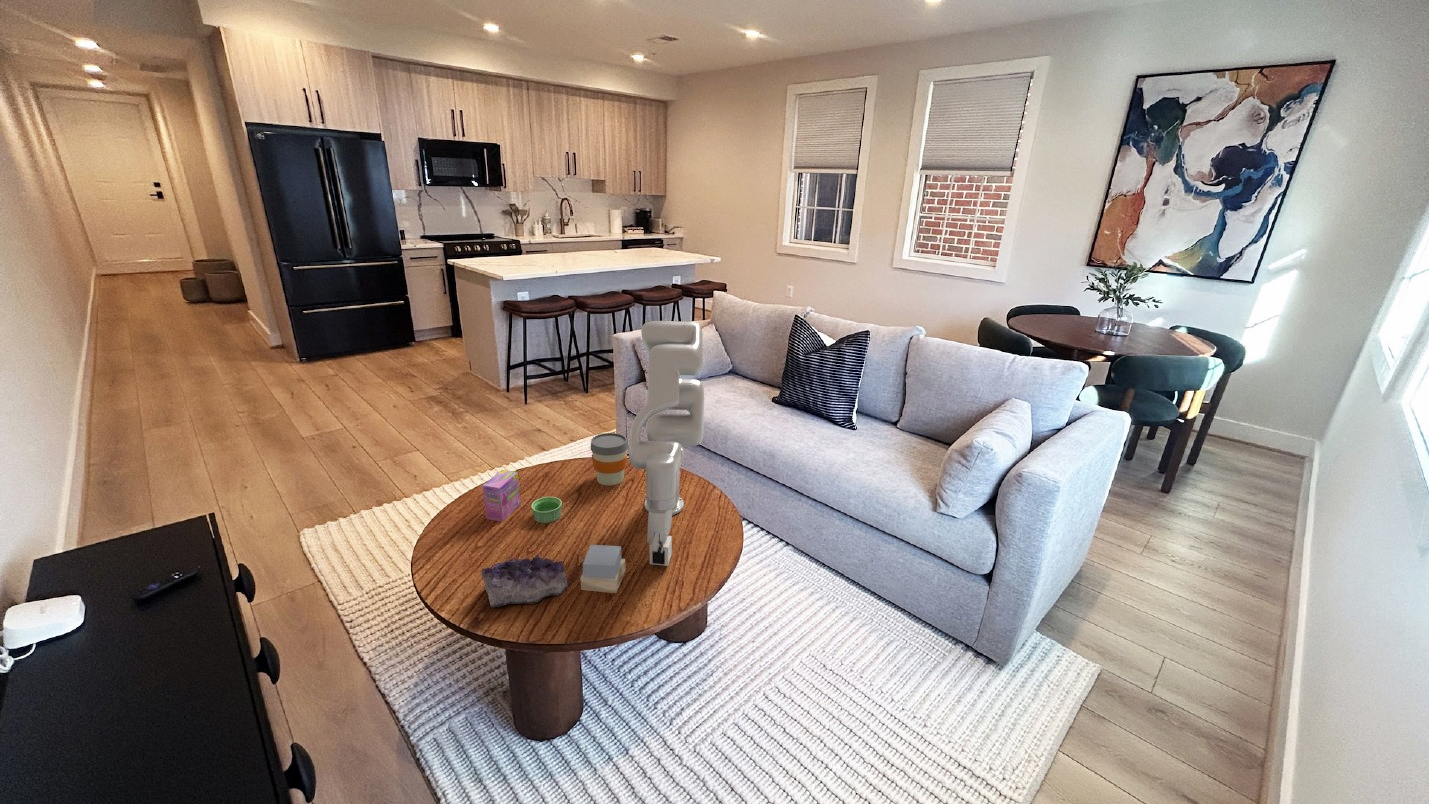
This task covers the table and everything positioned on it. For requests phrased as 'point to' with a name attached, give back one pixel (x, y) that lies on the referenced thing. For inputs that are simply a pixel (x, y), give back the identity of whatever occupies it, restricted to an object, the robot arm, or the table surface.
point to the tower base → (604, 581)
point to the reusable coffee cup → (609, 457)
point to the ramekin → (546, 509)
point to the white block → (666, 548)
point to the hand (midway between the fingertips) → (660, 555)
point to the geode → (524, 581)
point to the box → (501, 495)
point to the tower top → (602, 561)
